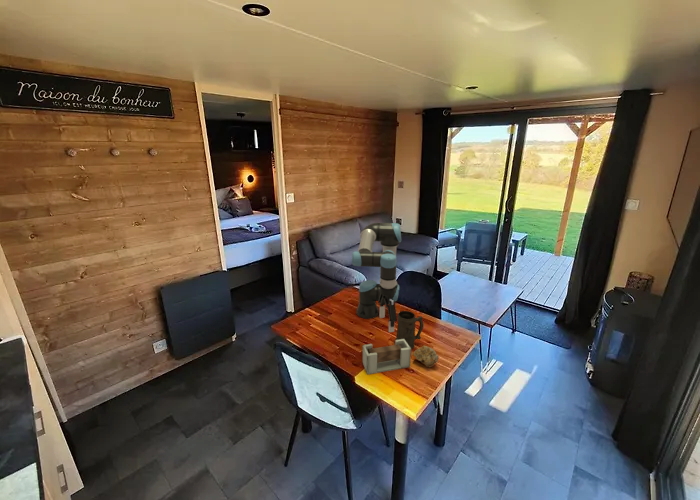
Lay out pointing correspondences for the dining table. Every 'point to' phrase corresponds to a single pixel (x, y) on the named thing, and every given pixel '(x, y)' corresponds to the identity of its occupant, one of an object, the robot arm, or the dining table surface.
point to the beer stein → (408, 327)
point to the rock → (426, 355)
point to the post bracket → (374, 367)
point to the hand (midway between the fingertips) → (386, 324)
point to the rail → (387, 352)
